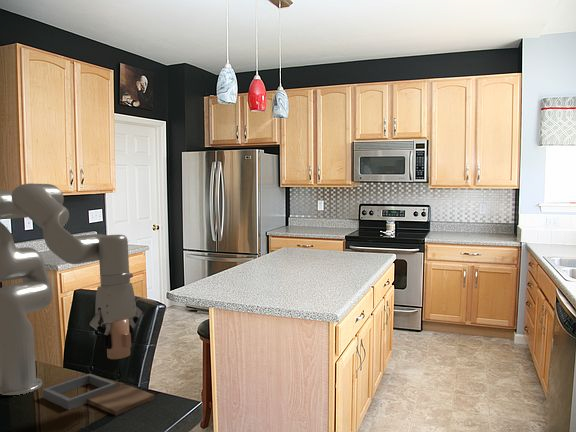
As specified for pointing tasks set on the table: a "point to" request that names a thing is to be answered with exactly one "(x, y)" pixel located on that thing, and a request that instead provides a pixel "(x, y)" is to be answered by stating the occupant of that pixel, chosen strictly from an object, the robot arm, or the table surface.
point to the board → (120, 399)
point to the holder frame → (55, 391)
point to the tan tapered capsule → (119, 340)
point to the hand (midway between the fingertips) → (118, 344)
